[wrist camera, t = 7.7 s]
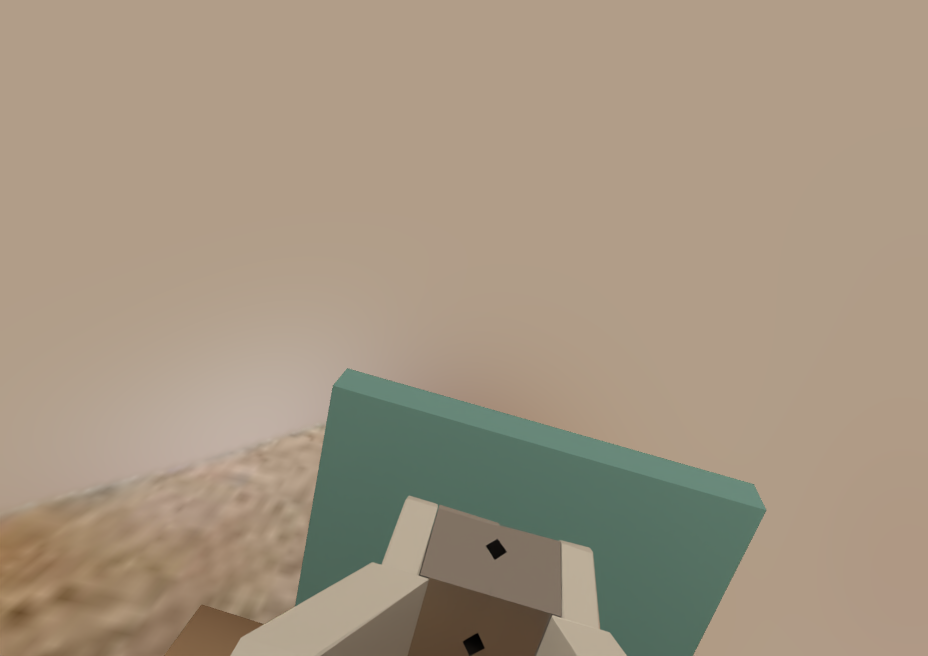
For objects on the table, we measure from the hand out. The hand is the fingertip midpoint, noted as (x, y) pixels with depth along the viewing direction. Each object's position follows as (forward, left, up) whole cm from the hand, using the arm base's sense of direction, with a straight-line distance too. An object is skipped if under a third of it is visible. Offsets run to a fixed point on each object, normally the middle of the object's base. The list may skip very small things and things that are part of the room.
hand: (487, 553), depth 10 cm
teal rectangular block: (+5, +7, -11) cm, 13 cm away
